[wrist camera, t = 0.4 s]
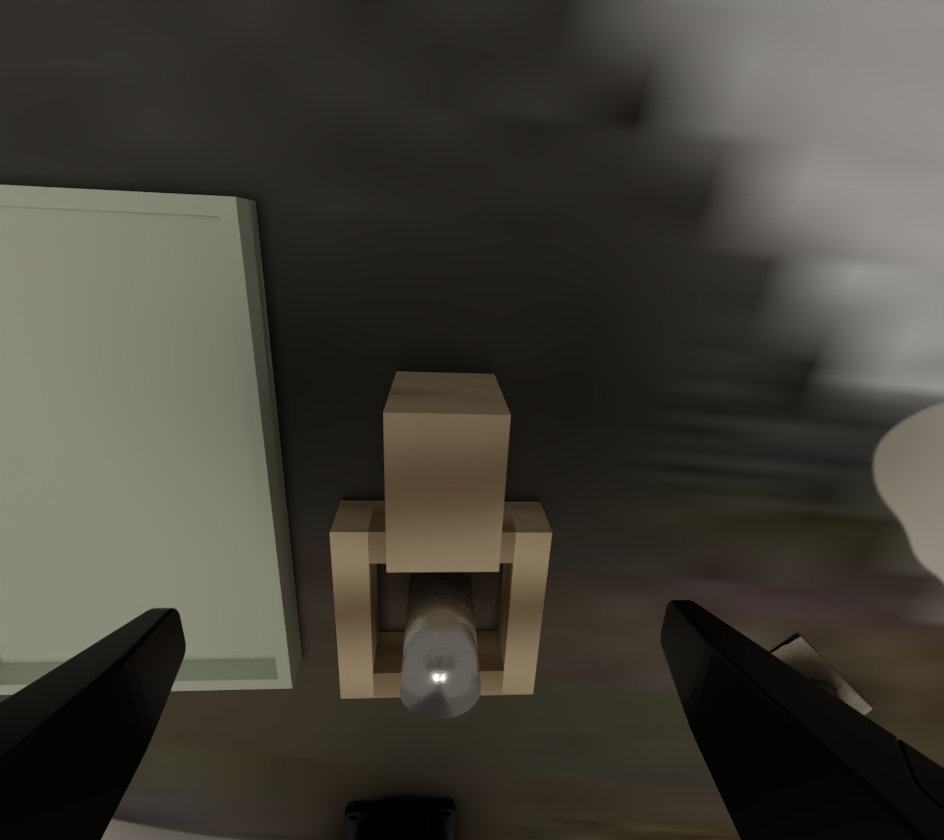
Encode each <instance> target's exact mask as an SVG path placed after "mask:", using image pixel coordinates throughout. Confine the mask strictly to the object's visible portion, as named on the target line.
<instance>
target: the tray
mask: <svg viewBox="0 0 944 840" xmlns="http://www.w3.org/2000/svg"><path fill="white" fill-rule="evenodd" d="M152 608H175V609H177V610H178V612H179V614H180V618H181V623H182V628H183V632H184V637H185V642H186V651H185V655H184V659H183V661H182V664H181V666H180V669H179V671H178V674H177V676H176V679H175V681H174V684H173V686H172V689H171V691H198V690H244V689H289V688H293V685H294V682H295V678H296V675H297V672H298V669H299V666H300V663H301V660H302V650H301V640H300V630H299V620H298V611H297V601H296V591H295V581H294V571H293V562H292V552H291V542H290V532H289V523H288V513H287V503H286V493H285V484H284V474H283V464H282V454H281V444H280V435H279V425H278V415H277V405H276V396H275V386H274V376H273V366H272V356H271V347H270V337H269V327H268V317H267V308H266V298H265V288H264V278H263V269H262V259H261V249H260V239H259V229H258V220H257V210H256V201H253V200H249V199H244V198H239V197H229V196H210V195H191V194H171V193H152V192H132V191H113V190H94V189H74V188H55V187H36V186H16V185H0V695H13V694H15V693H16V692H18V691H19V690H21V689H23V688H24V687H26V686H27V685H29V684H31V683H32V682H34V681H35V680H37V679H38V678H40V677H42V676H43V675H45V674H46V673H48V672H50V671H51V670H53V669H54V668H56V667H58V666H59V665H61V664H62V663H64V662H66V661H67V660H69V659H70V658H72V657H74V656H75V655H77V654H78V653H80V652H82V651H83V650H85V649H86V648H88V647H90V646H91V645H93V644H94V643H96V642H98V641H99V640H101V639H102V638H104V637H106V636H107V635H109V634H110V633H112V632H114V631H115V630H117V629H118V628H120V627H122V626H123V625H125V624H126V623H128V622H130V621H131V620H133V619H134V618H136V617H138V616H139V615H141V614H142V613H144V612H146V611H147V610H149V609H152Z"/></svg>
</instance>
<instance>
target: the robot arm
mask: <svg viewBox="0 0 944 840" xmlns="http://www.w3.org/2000/svg"><path fill="white" fill-rule="evenodd" d="M661 644H662V648H663V651H664V654H665V657H666V660H667V663H668V666H669V669H670V672H671V674H672V677H673V680H674V683H675V686H676V689H677V692H678V695H679V698H680V700H681V703H682V706H683V709H684V712H685V715H686V718H687V720H688V723H689V726H690V728H691V731H692V733H693V735H694V738H695V740H696V742H697V744H698V747H699V749H700V751H701V753H702V755H703V758H704V760H705V762H706V764H707V766H708V769H709V771H710V773H711V775H712V777H713V779H714V782H715V784H716V786H717V788H718V790H719V793H720V795H721V797H722V799H723V801H724V803H725V806H726V808H727V810H728V812H729V814H730V817H731V819H732V821H733V823H734V825H735V828H736V830H737V832H738V834H739V836H740V838H741V840H944V768H943V767H942V766H940V765H939V764H937V763H935V762H934V761H932V760H931V759H929V758H928V757H926V756H925V755H923V754H922V753H920V752H919V751H917V750H916V749H914V748H913V747H911V746H910V745H908V744H907V743H905V742H904V741H902V740H897V738H896V736H895V735H893V734H892V733H890V732H889V731H887V730H886V729H884V728H883V727H881V726H880V725H878V724H877V723H875V722H874V721H872V720H871V719H869V718H868V717H866V716H865V715H863V714H862V713H860V712H859V711H857V710H856V709H854V708H853V707H851V706H850V705H848V704H847V703H845V702H844V701H842V700H841V699H839V698H838V697H836V696H835V695H833V694H832V693H830V692H829V691H827V690H826V689H824V688H823V687H821V686H820V685H818V684H817V683H815V682H814V681H812V680H811V679H809V678H808V677H806V676H804V675H803V674H801V673H800V672H798V671H797V670H795V669H794V668H792V667H791V666H789V665H788V664H786V663H785V662H783V661H782V660H780V659H779V658H777V657H776V656H774V655H773V654H771V653H770V652H768V651H767V650H765V649H764V648H762V647H761V646H759V645H758V644H756V643H755V642H753V641H752V640H750V639H749V638H747V637H746V636H744V635H743V634H741V633H740V632H738V631H737V630H735V629H734V628H732V627H731V626H729V625H728V624H726V623H725V622H723V621H722V620H720V619H719V618H717V617H716V616H714V615H713V614H711V613H710V612H708V611H707V610H705V609H704V608H702V607H701V606H699V605H698V604H696V603H695V602H693V601H690V600H672V601H670V602H669V603H668V605H667V607H666V612H665V617H664V621H663V626H662V630H661ZM185 651H186V642H185V637H184V632H183V628H182V623H181V618H180V614H179V612H178V610H177V609H175V608H152V609H149V610H147V611H146V612H144V613H142V614H141V615H139V616H138V617H136V618H134V619H133V620H131V621H130V622H128V623H126V624H125V625H123V626H122V627H120V628H118V629H117V630H115V631H114V632H112V633H110V634H109V635H107V636H106V637H104V638H102V639H101V640H99V641H98V642H96V643H94V644H93V645H91V646H90V647H88V648H86V649H85V650H83V651H82V652H80V653H78V654H77V655H75V656H74V657H72V658H70V659H69V660H67V661H66V662H64V663H62V664H61V665H59V666H58V667H56V668H54V669H53V670H51V671H50V672H48V673H46V674H45V675H43V676H42V677H40V678H38V679H37V680H35V681H34V682H32V683H31V684H29V685H27V686H26V687H24V688H23V689H21V690H19V691H18V692H16V693H15V694H13V695H11V696H10V697H8V698H7V699H5V700H3V701H2V702H0V840H101V838H102V836H103V834H104V832H105V830H106V828H107V827H108V824H109V822H110V821H111V819H112V817H113V815H114V813H115V811H116V809H117V807H118V805H119V803H120V801H121V799H122V797H123V795H124V793H125V791H126V790H127V788H128V786H129V784H130V782H131V780H132V778H133V776H134V774H135V772H136V770H137V768H138V766H139V764H140V762H141V760H142V758H143V756H144V754H145V752H146V750H147V748H148V745H149V743H150V741H151V738H152V736H153V734H154V731H155V729H156V726H157V724H158V721H159V719H160V716H161V714H162V711H163V709H164V706H165V704H166V701H167V699H168V696H169V694H170V691H171V689H172V686H173V684H174V681H175V679H176V676H177V674H178V671H179V669H180V666H181V664H182V661H183V659H184V655H185ZM455 818H456V806H455V804H454V803H453V802H450V801H442V802H417V803H392V804H367V805H351V806H349V807H347V808H346V811H345V817H344V822H345V836H346V840H454V839H455Z"/></svg>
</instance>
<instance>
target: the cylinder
mask: <svg viewBox="0 0 944 840" xmlns="http://www.w3.org/2000/svg"><path fill="white" fill-rule="evenodd" d="M480 693H481V681H480V670H479V659H478V648H477V638H476V627H475V616H474V606H473V595H472V584H471V576H470V573H469V572H412V573H411V576H410V579H409V590H408V602H407V613H406V625H405V636H404V647H403V659H402V670H401V682H400V697H401V700H402V702H403V704H404V705H405V706H406V707H407V708H408V709H409V710H410V711H411V712H412V713H414V714H416V715H418V716H420V717H423V718H427V719H434V720H442V719H450V718H454V717H457V716H459V715H461V714H463V713H465V712H467V711H468V710H469V709H471V708H472V707H473V706H474V705H475V703H476V702H477V700H478V699H479V696H480Z"/></svg>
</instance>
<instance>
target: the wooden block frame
mask: <svg viewBox="0 0 944 840" xmlns="http://www.w3.org/2000/svg"><path fill="white" fill-rule="evenodd" d="M510 420H511V414H510V412H509V409H508V407H507V404H506V402H505V399H504V397H503V394H502V392H501V390H500V387H499V385H498V382H497V380H496V377H495V375H494V374H480V373H442V372H404V371H396V374H395V377H394V380H393V384H392V387H391V390H390V393H389V396H388V399H387V402H386V405H385V408H384V411H383V430H384V477H385V501H346V500H341V503H340V506H339V508H338V511H337V514H336V516H335V519H334V522H333V524H332V527H331V530H330V547H331V562H332V576H333V591H334V605H335V620H336V634H337V649H338V663H339V678H340V693H341V699H351V698H393V697H400V682H401V670H402V659H403V647H404V636H405V631H402V632H379V606H378V572H377V563H386V570H387V572H499V564H500V563H503V571H502V584H501V596H500V609H499V621H498V630H476V638H477V648H478V659H479V670H480V681H481V693H480V695H519V694H533V690H534V682H535V673H536V665H537V657H538V648H539V640H540V631H541V623H542V614H543V606H544V597H545V589H546V581H547V572H548V564H549V555H550V547H551V538H552V531H551V528H550V526H549V523H548V520H547V518H546V515H545V513H544V510H543V507H542V505H541V502H504V499H505V486H506V472H507V459H508V446H509V433H510Z"/></svg>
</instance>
